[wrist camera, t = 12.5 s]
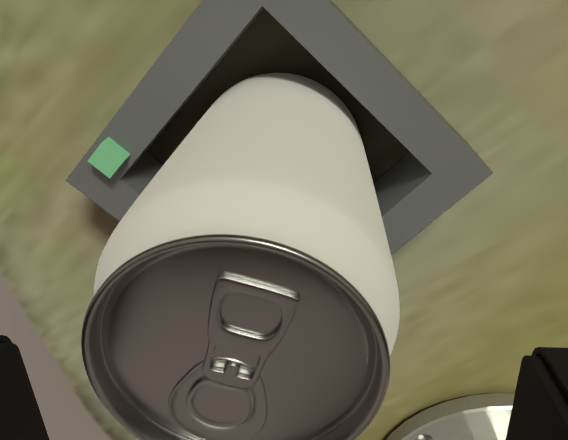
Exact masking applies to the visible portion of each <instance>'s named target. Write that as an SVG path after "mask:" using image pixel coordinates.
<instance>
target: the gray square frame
mask: <svg viewBox="0 0 568 440" xmlns="http://www.w3.org/2000/svg"><path fill="white" fill-rule="evenodd" d="M264 8H265V9H266V10H267V11H268V12H269V13H270V14H271V15H272V16H273V17H274V18H275V19H276V20H277V21H278V22H279V23H280V24H281V25H282V26H283V27H284V28H285V29H286V30H287V31H288V32H289V33H290V34H291V35H292V36H293V37H294V38H295V39H296V40H297V41H298V42H299V43H300V44H301V45H302V46H303V47H304V48H305V49H306V50H307V51H308V52H309V53H310V54H311V55H312V56H314V57H315V58H316V59H317V60H318V61H319V62H320V63H321V64H322V65H323V66H324V67H325V68H326V69H327V70H328V71H329V72H330V73H331V74H332V75H333V76H334V77H335V78H336V79H337V80H338V81H339V82H340V83H341V84H342V85H343V86H344V87H345V88H346V89H347V90H348V91H349V92H350V93H351V94H352V95H353V96H354V97H355V98H356V99H357V100H358V101H359V102H360V103H361V104H362V105H363V106H364V107H365V108H366V109H367V110H368V111H369V112H370V113H371V114H372V115H373V116H374V117H375V118H376V119H377V120H378V121H379V122H380V123H381V124H382V125H383V126H384V127H385V128H386V129H387V130H388V131H390V132H391V133H392V134H393V135H394V136H395V137H396V138H397V139H398V140H399V141H400V142H401V143H402V144H403V145H404V146H405V147H406V148H407V149H408V150H409V152H408V153H407V154H406V155H405V156H404V157H402V158H401V159H400V160H399V161H398V162H397V163H396V164H395V165H394V166H392V167H391V168H390V169H389V170H388V171H387V172H386V173H385V174H384V175H382V176H381V177H380V178H379V179H378V180H377V181H376V182H375V183H374V188H375V192H376V196H377V200H378V204H379V208H380V212H381V216H382V220H383V224H384V228H385V232H386V236H387V240H388V245H389V249H390V253H391V255H392V254H393V253H395V252H396V251H397V250H398V249H400V248H401V247H402V246H403V245H404V244H406V243H407V242H408V241H409V240H411V239H412V238H413V237H414V236H416V235H417V234H418V233H419V232H421V231H422V230H423V229H424V228H425V227H427V226H428V225H429V224H430V223H432V222H433V221H434V220H435V219H437V218H438V217H439V216H440V215H442V214H443V213H444V212H445V211H447V210H448V209H449V208H450V207H451V206H453V205H454V204H455V203H456V202H458V201H459V200H460V199H461V198H463V197H464V196H465V195H466V194H468V193H469V192H470V191H471V190H473V189H474V188H475V187H476V186H477V185H479V184H480V183H481V182H482V181H484V180H485V179H486V178H487V177H489V176H490V175H491V174H492V173H493V172H492V171H491V169H490V168H489V167H488V166H487V165H486V164H485V162H484V161H483V160H482V159H481V158H480V157H479V155H478V154H477V153H476V152H475V151H474V150H473V149H472V147H471V146H470V145H469V144H468V143H467V142H466V141H465V140H464V139H463V138H462V137H461V136H460V134H459V133H458V132H457V131H456V130H455V129H454V128H453V127H452V126H451V125H450V124H449V123H448V122H447V121H446V120H445V119H444V118H443V117H442V116H441V115H440V114H439V113H438V112H437V111H436V109H435V108H434V107H433V106H432V105H431V104H430V103H429V102H428V101H427V100H426V99H425V98H424V97H423V96H422V95H421V94H420V93H419V92H418V91H417V90H416V89H415V88H414V87H413V85H412V84H411V83H410V82H409V81H408V80H407V79H406V78H405V77H404V76H403V75H402V74H401V73H400V72H399V71H398V70H397V69H396V68H395V67H394V66H393V65H392V64H391V63H390V61H389V60H388V59H387V58H386V57H385V56H384V55H383V54H382V53H381V52H380V51H379V50H378V49H377V48H376V47H375V46H374V45H373V44H372V43H371V42H370V41H369V40H368V39H367V37H366V36H365V35H364V34H363V33H362V32H361V31H360V30H359V29H358V28H357V27H356V26H355V25H354V24H353V23H352V22H351V21H350V20H349V19H348V18H347V17H346V16H345V15H344V13H343V12H342V11H341V10H340V9H339V8H338V7H337V6H336V5H335V4H334V3H333V2H332V1H331V0H202V1H201V3H200V4H199V5H198V7H197V8H196V9H195V11H194V12H193V13H192V15H191V16H190V17H189V18H188V20H187V21H186V22H185V24H184V25H183V26H182V28H181V29H180V30H179V32H178V33H177V34H176V36H175V37H174V38H173V40H172V41H171V42H170V44H169V45H168V46H167V47H166V49H165V50H164V51H163V53H162V54H161V55H160V57H159V58H158V59H157V61H156V62H155V63H154V65H153V66H152V67H151V69H150V70H149V71H148V72H147V74H146V75H145V76H144V78H143V79H142V80H141V82H140V83H139V84H138V86H137V87H136V88H135V90H134V91H133V92H132V94H131V95H130V96H129V98H128V99H127V100H126V101H125V103H124V104H123V105H122V107H121V108H120V109H119V111H118V112H117V113H116V115H115V116H114V117H113V119H112V120H111V121H110V123H109V124H108V125H107V126H106V128H105V129H104V130H103V132H102V133H101V134H100V136H99V137H98V138H97V140H96V141H95V142H94V144H93V145H92V146H91V148H90V149H89V150H88V152H87V153H86V154H85V155H84V157H83V158H82V159H81V161H80V162H79V163H78V165H77V166H76V167H75V169H74V170H73V171H72V173H71V174H70V175H69V177H68V178H67V179H66V180H65V181H67V182H68V183H69V184H71V185H72V186H73V187H75V188H76V189H77V190H79V191H80V192H81V193H83V194H84V195H85V196H87V197H88V198H89V199H91V200H92V201H93V202H95V203H96V204H97V205H99V206H100V207H101V208H103V209H104V210H105V211H107V212H108V213H109V214H111V215H112V216H113V217H115V218H116V219H117V220H119V221H121V219H122V218H123V217H124V215H125V214H126V212H127V211H128V210H129V208H130V207H131V206H132V205H133V203H134V202H135V201H136V199H137V198H138V197H139V195H140V194H141V193H142V192H143V190H144V189H145V188H146V186H147V185H148V184H149V183H150V181H151V180H152V179H153V178H154V176H155V175H156V174H157V173H158V171H159V170H160V169H161V167H162V166H163V164H162V163H160V162H159V161H158V160H157V159H155V158H154V157H153V156H152V155H151V154H149V153H148V152H147V150H148V149H149V148H150V146H151V145H152V144H153V143H154V141H155V140H156V139H157V138H158V137H159V135H160V134H161V133H162V132H163V131H164V129H165V128H166V127H167V126H168V124H169V123H170V122H171V121H172V120H173V118H174V117H175V116H176V115H177V114H178V112H179V111H180V110H181V109H182V107H183V106H184V105H185V104H186V103H187V101H188V100H189V99H190V98H191V97H192V95H193V94H194V93H195V92H196V91H197V89H198V88H199V87H200V86H201V84H202V83H203V82H204V81H205V80H206V78H207V77H208V76H209V75H210V74H211V72H212V71H213V70H214V69H215V67H216V66H217V65H218V64H219V63H220V61H221V60H222V59H223V58H224V57H225V55H226V54H227V53H228V52H229V50H230V49H231V48H232V47H233V46H234V44H235V43H236V42H237V41H238V40H239V38H240V37H241V36H242V35H243V33H244V32H245V31H246V30H247V29H248V27H249V26H250V25H251V24H252V23H253V21H254V20H255V19H256V18H257V16H258V15H259V14H260V13H261V12H262V10H263V9H264Z"/></svg>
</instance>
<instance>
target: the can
mask: <svg viewBox="0 0 568 440" xmlns="http://www.w3.org/2000/svg"><path fill="white" fill-rule="evenodd" d="M399 314H400V311H399V294H398V286H397V281H396V276H395V271H394V266H393V262H392V257H391V253H390V249H389V245H388V240H387V236H386V232H385V228H384V224H383V220H382V216H381V212H380V208H379V204H378V200H377V196H376V192H375V188H374V184H373V180H372V176H371V173H370V169H369V165H368V161H367V157H366V153H365V150H364V146H363V142H362V139H361V135H360V132H359V129H358V127H357V124H356V122H355V120H354V118H353V116H352V114H351V113H350V111H349V110H348V108H347V107H346V105H345V104H344V103H343V102H342V101H341V100H340V98H339V97H338V96H336V95H335V94H334V93H333V92H332V91H331V90H329V89H328V88H326V87H325V86H323V85H322V84H320V83H318V82H316V81H314V80H312V79H309V78H306V77H303V76H300V75H296V74H290V73H267V74H261V75H257V76H253V77H250V78H248V79H245V80H243V81H241V82H239V83H237V84H235V85H234V86H232V87H231V88H229V89H228V90H227V91H225V92H224V93H223V94H222V95H221V96H220V97H219V98H218V99H217V100H216V101H215V102H214V103H213V104H212V106H211V107H210V108H209V109H208V110H207V111H206V113H205V114H204V115H203V116H202V118H201V119H200V120H199V121H198V122H197V124H196V125H195V126H194V127H193V129H192V130H191V131H190V132H189V134H188V135H187V136H186V137H185V139H184V140H183V141H182V142H181V144H180V145H179V146H178V147H177V149H176V150H175V151H174V152H173V154H172V155H171V156H170V157H169V159H168V160H167V161H166V162H165V164H164V165H163V166H162V167H161V169H160V170H159V171H158V173H157V174H156V175H155V176H154V178H153V179H152V180H151V181H150V183H149V184H148V185H147V186H146V188H145V189H144V190H143V192H142V193H141V194H140V195H139V197H138V198H137V199H136V201H135V202H134V203H133V205H132V206H131V207H130V208H129V210H128V211H127V212H126V214H125V215H124V217H123V218H122V219H121V221H120V222H119V224H118V225H117V227H116V228H115V229H114V231H113V233H112V234H111V236H110V238H109V240H108V242H107V244H106V246H105V248H104V250H103V252H102V254H101V257H100V260H99V263H98V267H97V271H96V277H95V285H94V297H93V299H92V301H91V303H90V305H89V307H88V310H87V312H86V315H85V319H84V323H83V328H82V338H81V346H82V356H83V362H84V366H85V370H86V373H87V376H88V378H89V381H90V383H91V385H92V387H93V389H94V391H95V393H96V394H97V396H98V398H99V399H100V401H101V402H102V403H103V405H104V406H105V407H106V409H107V410H108V411H109V412H110V413H111V415H112V416H113V417H114V418H115V419H116V420H117V421H118V422H119V423H120V424H121V425H122V426H124V427H125V428H126V429H127V430H128V431H129V432H131V433H132V434H133V435H135V436H136V437H137V438H139V439H140V440H354V439H355V438H356V437H358V436H359V435H360V434H361V433H362V432H363V431H364V430H365V429H366V427H367V426H368V425H369V424H370V423H371V421H372V420H373V418H374V417H375V415H376V414H377V412H378V410H379V409H380V407H381V405H382V402H383V400H384V397H385V395H386V391H387V388H388V383H389V377H390V354H391V352H392V349H393V347H394V343H395V340H396V336H397V332H398V326H399Z"/></svg>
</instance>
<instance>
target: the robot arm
mask: <svg viewBox="0 0 568 440" xmlns="http://www.w3.org/2000/svg"><path fill="white" fill-rule="evenodd" d="M0 440H49V437H48V434H47V431H46V428H45V425H44V422H43V419H42V416H41V413H40V410H39V407H38V404H37V401H36V398H35V396H34V392H33V390H32V387H31V384H30V381H29V378H28V375H27V372H26V369H25V366H24V363H23V360H22V357H21V354H20V351H19V348H18V346H16V345H15V344H13V343H12V342H11V340H10V339H9V338H8V337H7V336H3V335H0ZM386 440H568V348H548V347H538V348H535V349H534V351H533V353H532V356H524V357H523V359H522V362H521V367H520V372H519V377H518V381H517V386H516V391H515V394H508V393H491V394H481V395H471V396H466V397H462V398H458V399H454V400H450V401H446V402H443V403H441V404H438V405H436V406H433V407H431V408H428V409H425V410H424V411H422V412H420V413H418V414H417V415H415V416H413V417H412V418H410V419H408V420H406V421H405V422H404V423H403V424H402V425H400V426H399V427H398V428H397V429H395V430H394V431H393V432H392V433H391V434H390V435H389V436H388V438H387V439H386Z"/></svg>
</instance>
